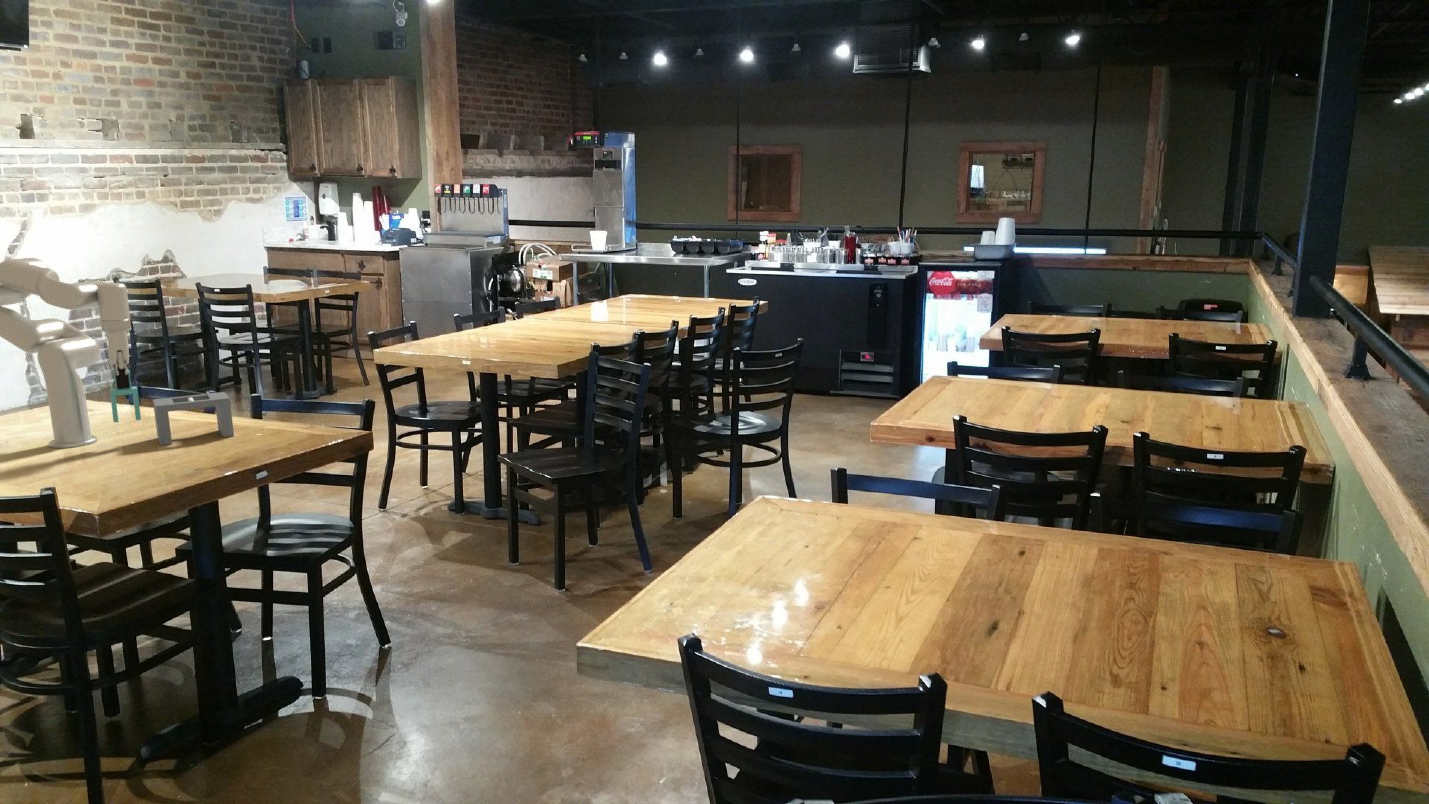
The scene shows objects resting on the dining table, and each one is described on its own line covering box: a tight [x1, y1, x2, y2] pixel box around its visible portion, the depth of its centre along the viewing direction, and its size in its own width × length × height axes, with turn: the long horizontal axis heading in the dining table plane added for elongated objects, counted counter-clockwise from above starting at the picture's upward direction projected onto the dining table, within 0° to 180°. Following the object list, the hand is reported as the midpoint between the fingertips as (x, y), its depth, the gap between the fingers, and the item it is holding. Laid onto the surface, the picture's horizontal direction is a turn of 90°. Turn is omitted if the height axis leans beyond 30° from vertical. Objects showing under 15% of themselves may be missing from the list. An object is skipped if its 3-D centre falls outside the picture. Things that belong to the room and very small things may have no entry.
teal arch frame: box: [109, 370, 142, 423], centre depth 303 cm, size 4×7×14 cm, turn 122°
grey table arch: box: [152, 391, 235, 446], centre depth 314 cm, size 12×20×12 cm, turn 122°
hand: (123, 386), depth 303 cm, fingers closed on teal arch frame, 3 cm apart
